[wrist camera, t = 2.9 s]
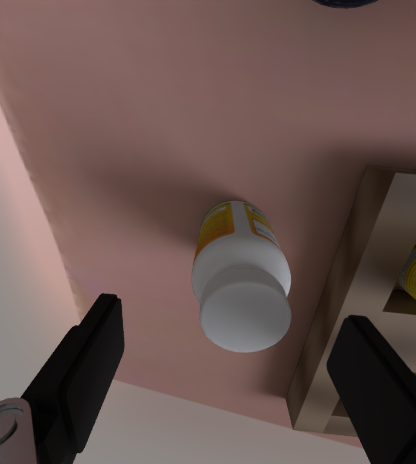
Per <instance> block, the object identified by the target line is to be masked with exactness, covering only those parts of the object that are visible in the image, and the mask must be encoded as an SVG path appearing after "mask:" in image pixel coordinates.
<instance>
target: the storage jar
mask: <svg viewBox="0 0 416 464" xmlns="http://www.w3.org/2000/svg"><path fill="white" fill-rule="evenodd" d="M313 1H315V2H317V3H319V4H321V5H325V6H328V7H332V8H354V7H360V6H364V5H367V4H370V3H373V2H376V1H378V0H313Z"/></svg>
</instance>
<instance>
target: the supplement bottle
mask: <svg viewBox="0 0 416 464" xmlns="http://www.w3.org/2000/svg"><path fill="white" fill-rule="evenodd" d="M191 280H192V288H193V291H194V294H195V296H196V298H197V300H198V301H199V303H200V324H201V327H202V329H203V332H204V333H205V335H206V336H207V337H208V338H209V339H210V340H211V341H212V342H213V343H215V344H216V345H218V346H220V347H222V348H224V349H227V350H230V351H234V352H255V351H260V350H263V349H266V348H268V347H270V346H272V345H274V344H276V343H277V342H278V341H280V340H281V339H282V338H283V337H284V335H285V334H286V333H287V331H288V329H289V326H290V324H291V309H290V306H289V303H288V300H287V295H288V293H289V290H290V285H291V274H290V270H289V266H288V263H287V260H286V258H285V256H284V254H283V252H282V250H281V248H280V246H279V244H278V242H277V240H276V238H275V236H274V234H273V232H272V230H271V228H270V225H269V224H268V222H267V220H266V218H265V217H264V215H263V214H262V212H261V211H260V210H259V209H258V208H256V207H255V206H253V205H251V204H249V203H247V202H243V201H228V202H224V203H221V204H219V205H217V206H216V207H214V208H213V209H212V210H210V211H209V213H208V214H207V215H206V216H205V218H204V220H203V223H202V225H201V229H200V234H199V239H198V244H197V249H196V253H195V258H194V263H193V268H192V279H191Z"/></svg>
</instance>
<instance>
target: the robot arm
mask: <svg viewBox="0 0 416 464" xmlns="http://www.w3.org/2000/svg"><path fill="white" fill-rule="evenodd" d="M123 352H124V331H123V318H122V304H121V299H119V298H117V295H115V294H104V293H102V294H101V295H100V296H99V297H98V299H97V300H96V301H95V303H94V304H93V306H92V307H91V309H90V310H89V311H88V313H87V314H86V316H85V317H84V319H83V320H82V322H81V323H80V324H79V326H78V325H75V326H73V327H72V328H71V329H70V330H69V331H68V333H67V334H66V335H65V337H64V338H63V340H62V341H61V342H60V344H59V345H58V346H57V348H56V349H55V351H54V352H53V354H52V355H51V356H50V358H49V359H48V361H47V362H46V363H45V364H44V366H43V367H42V368H41V370H40V371H39V373H38V374H37V376H36V377H35V378H34V380H33V381H32V382H31V384H30V385H29V386H28V388H27V389H26V390H25V392H24V393H23V395H22V396H21V398H8V399H5V400H2V401H0V464H73V461H74V459H75V457H76V454H77V453H81V452H82V451H83V449H84V448H85V446H86V443H87V441H88V438H89V436H90V433H91V431H92V428H93V426H94V424H95V421H96V419H97V416H98V414H99V411H100V409H101V406H102V404H103V402H104V399H105V397H106V394H107V392H108V389H109V387H110V385H111V382H112V380H113V377H114V375H115V372H116V370H117V368H118V365H119V363H120V360H121V358H122V355H123ZM326 367H327V371H328V374H329V376H330V378H331V380H332V382H333V384H334V386H335V389H336V391H337V393H338V395H339V397H340V399H341V401H342V403H343V406H344V408H345V410H346V412H347V414H348V416H349V418H350V420H351V423H352V425H353V427H354V429H355V431H356V433H357V435H358V437H359V440H360V442H361V444H362V446H363V448H364V450H365V452H366V454H367V457H368V459H369V461H370V463H371V464H416V376H415V374H414V373H413V372H412V371H411V370H410V368H409V367H408V366H407V365H406V363H405V362H404V361H403V360H402V359H401V357H400V356H399V355H398V354H397V352H396V351H395V350H394V349H393V348H392V346H391V345H390V344H389V343H388V342H387V340H386V339H385V338H384V337H383V335H382V334H381V333H380V332H379V331H378V329H377V328H376V327H375V326H374V325H373V323H372V322H371V321H370V320H369V318H367V317H366V316H361V315H349V316H348V317H347V318H345V319H344V320H343V323H342V325H341V328H340V330H339V333H338V335H337V338H336V340H335V343H334V345H333V348H332V350H331V353H330V355H329V358H328V360H327V363H326Z"/></svg>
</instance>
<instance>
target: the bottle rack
mask: <svg viewBox="0 0 416 464" xmlns="http://www.w3.org/2000/svg"><path fill="white" fill-rule="evenodd" d="M415 243H416V170H410V169H399V168H389V167H378V166H368V165H367V166H366V169H365V172H364V175H363V178H362V181H361V184H360V186H359V189H358V192H357V195H356V198H355V201H354V204H353V207H352V209H351V212H350V215H349V218H348V221H347V224H346V227H345V230H344V233H343V235H342V238H341V241H340V244H339V247H338V250H337V253H336V256H335V259H334V261H333V264H332V267H331V270H330V273H329V276H328V279H327V282H326V285H325V287H324V290H323V293H322V296H321V299H320V302H319V305H318V308H317V310H316V313H315V316H314V319H313V322H312V325H311V328H310V331H309V334H308V336H307V339H306V342H305V345H304V348H303V351H302V354H301V357H300V360H299V362H298V365H297V368H296V371H295V374H294V377H293V380H292V383H291V386H290V388H289V391H288V394H287V397H286V402H287V407H288V411H289V415H290V419H291V423H292V428H293V430H299V431H308V432H317V433H326V434H335V435H344V436H353V437H358V435H357V433H356V431H355V429H354V427H353V425H352V423H351V420H350V418H349V416H348V414H347V412H346V410H345V408H344V406H343V403H342V401H341V399H340V397H339V395H338V393H337V391H336V389H335V386H334V384H333V382H332V380H331V378H330V376H329V374H328V371H327V367H326V363H327V360H328V358H329V355H330V353H331V350H332V348H333V345H334V343H335V340H336V338H337V335H338V333H339V330H340V328H341V325H342V323H343V320H344V319H345V318H347V317H348V316H349V315H361V316H366V317H367V318H369V320H370V321H371V322H372V323H373V325H374V326H375V327H376V328H377V329H378V331H379V332H380V333H381V334H382V335H383V337H384V338H385V339H386V340H387V342H388V343H389V344H390V345H391V346H392V348H393V349H394V350H395V351H396V352H397V354H398V355H399V356H400V357H401V359H402V360H403V361H404V362H405V363H406V365H407V366H408V367H409V368H410V370H411V371H412V372H413V373H414V374H415V376H416V300H415V299H414V298H413V297H412V296H411V295H410V294H409V293H407V292H404V291H394V290H393V288H394V286H395V284H396V282H397V280H398V278H399V276H400V274H401V272H402V270H403V268H404V266H405V264H406V262H407V260H408V258H409V256H410V254H411V252H412V250H413V248H414V246H415Z"/></svg>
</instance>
